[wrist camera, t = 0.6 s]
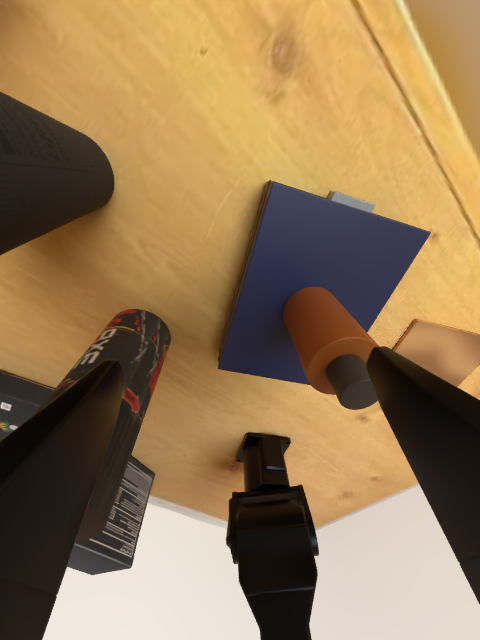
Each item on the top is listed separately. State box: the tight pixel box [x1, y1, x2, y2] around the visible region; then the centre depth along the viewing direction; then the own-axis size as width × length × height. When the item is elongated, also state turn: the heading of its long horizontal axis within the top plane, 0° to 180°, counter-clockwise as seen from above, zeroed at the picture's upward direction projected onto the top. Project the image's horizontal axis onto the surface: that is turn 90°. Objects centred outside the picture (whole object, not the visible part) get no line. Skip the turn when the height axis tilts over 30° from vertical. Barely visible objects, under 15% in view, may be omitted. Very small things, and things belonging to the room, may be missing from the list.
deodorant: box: [35, 309, 171, 543], centre depth 17 cm, size 6×6×15 cm
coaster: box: [393, 319, 480, 387], centre depth 28 cm, size 11×11×1 cm
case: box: [218, 180, 431, 385], centre depth 21 cm, size 17×12×3 cm
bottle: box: [283, 287, 379, 410], centre depth 16 cm, size 4×4×9 cm
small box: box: [67, 456, 155, 575], centre depth 31 cm, size 11×6×10 cm, turn 25°
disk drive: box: [0, 371, 55, 441], centre depth 27 cm, size 10×3×15 cm
